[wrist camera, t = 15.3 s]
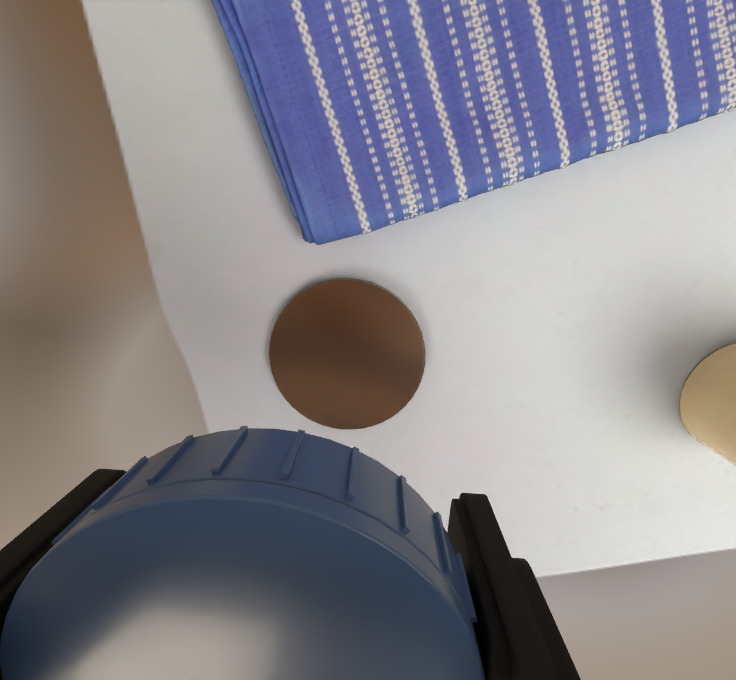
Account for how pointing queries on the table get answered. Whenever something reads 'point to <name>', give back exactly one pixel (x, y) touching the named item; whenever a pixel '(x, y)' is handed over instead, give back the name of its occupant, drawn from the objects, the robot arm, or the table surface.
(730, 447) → the jar
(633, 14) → the dish towel
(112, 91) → the table surface
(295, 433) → the lid
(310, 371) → the coaster
